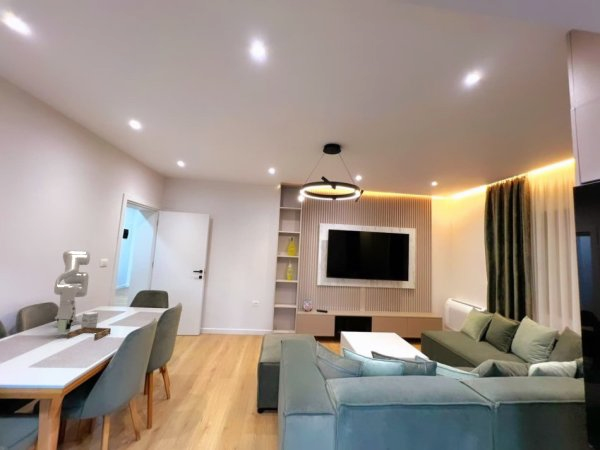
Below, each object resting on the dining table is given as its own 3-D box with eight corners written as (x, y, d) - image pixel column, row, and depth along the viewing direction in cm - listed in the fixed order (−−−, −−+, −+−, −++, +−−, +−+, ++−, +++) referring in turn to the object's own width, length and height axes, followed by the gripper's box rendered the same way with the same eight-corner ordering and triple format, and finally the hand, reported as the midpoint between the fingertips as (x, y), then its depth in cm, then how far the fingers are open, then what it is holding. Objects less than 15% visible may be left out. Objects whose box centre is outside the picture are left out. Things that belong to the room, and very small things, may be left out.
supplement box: (80, 329, 214) (82, 313, 216) (90, 327, 221) (92, 311, 222) (86, 331, 212) (88, 314, 213) (96, 328, 218) (98, 312, 220)
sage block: (63, 330, 200) (64, 318, 201) (70, 331, 200) (71, 318, 201) (57, 332, 195) (58, 319, 196) (64, 333, 195) (66, 320, 196)
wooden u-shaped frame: (83, 332, 209) (84, 326, 209) (110, 333, 209) (110, 328, 209) (66, 338, 194) (67, 332, 194) (95, 340, 194) (96, 334, 194)
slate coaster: (62, 334, 202) (62, 333, 202) (73, 335, 202) (73, 334, 202) (52, 337, 194) (52, 337, 194) (64, 338, 194) (64, 337, 194)
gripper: (83, 302, 203) (80, 327, 202) (60, 301, 203) (56, 326, 201) (75, 304, 196) (71, 330, 194) (51, 303, 196) (47, 329, 194)
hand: (64, 328), depth 198 cm, fingers closed on sage block, 5 cm apart
